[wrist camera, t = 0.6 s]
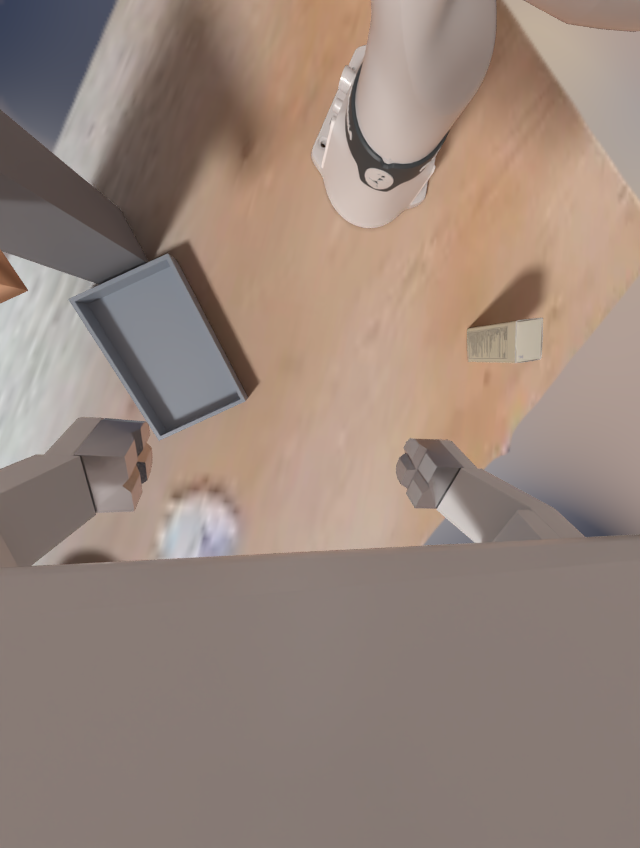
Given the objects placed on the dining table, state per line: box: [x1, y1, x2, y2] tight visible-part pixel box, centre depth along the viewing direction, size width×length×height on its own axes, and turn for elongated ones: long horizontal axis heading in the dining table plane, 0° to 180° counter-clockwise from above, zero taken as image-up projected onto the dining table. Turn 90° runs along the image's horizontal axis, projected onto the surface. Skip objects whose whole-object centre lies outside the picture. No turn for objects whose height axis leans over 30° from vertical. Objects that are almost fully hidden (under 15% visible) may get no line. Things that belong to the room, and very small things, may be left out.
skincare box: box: [467, 318, 543, 363], centre depth 49 cm, size 6×4×12 cm
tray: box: [69, 254, 248, 440], centre depth 47 cm, size 24×16×4 cm, turn 24°
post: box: [0, 110, 148, 284], centre depth 32 cm, size 8×8×26 cm
